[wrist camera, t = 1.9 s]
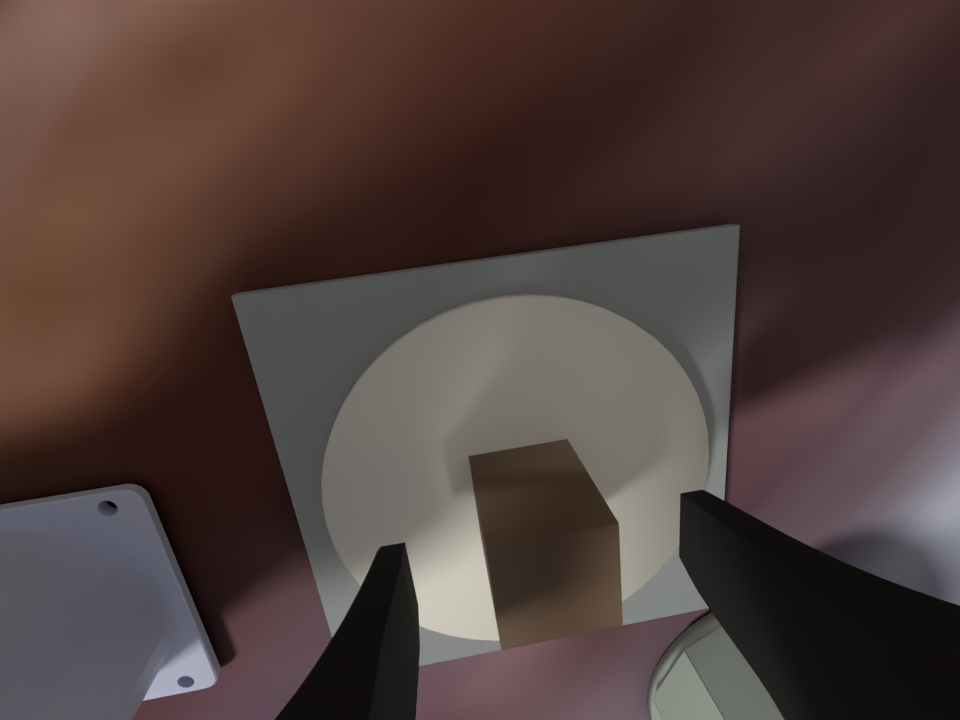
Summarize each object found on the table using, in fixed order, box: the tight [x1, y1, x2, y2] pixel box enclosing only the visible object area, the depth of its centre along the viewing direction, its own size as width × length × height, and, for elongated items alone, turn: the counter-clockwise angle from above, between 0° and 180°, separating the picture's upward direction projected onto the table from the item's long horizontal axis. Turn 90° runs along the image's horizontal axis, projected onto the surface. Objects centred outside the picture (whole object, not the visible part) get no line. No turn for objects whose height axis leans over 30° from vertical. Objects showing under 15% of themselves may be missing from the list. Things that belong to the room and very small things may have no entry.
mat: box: [231, 224, 740, 666], centre depth 16 cm, size 14×14×1 cm
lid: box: [321, 293, 709, 650], centre depth 13 cm, size 12×12×5 cm
